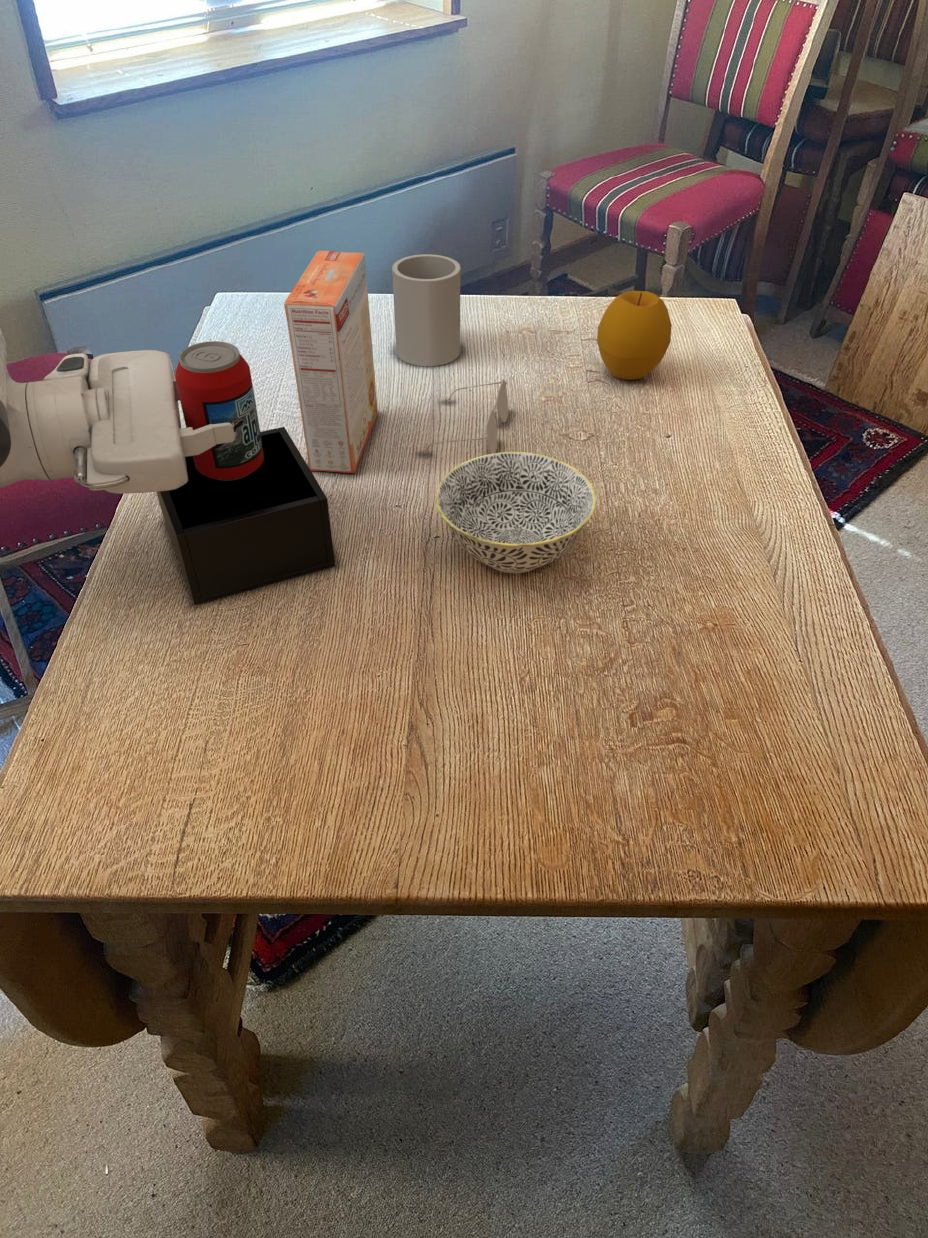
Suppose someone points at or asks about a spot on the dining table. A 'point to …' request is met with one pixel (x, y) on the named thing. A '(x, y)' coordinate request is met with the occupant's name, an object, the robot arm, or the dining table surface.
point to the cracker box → (333, 359)
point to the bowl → (515, 508)
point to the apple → (634, 334)
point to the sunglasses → (490, 418)
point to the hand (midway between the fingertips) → (228, 407)
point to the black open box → (249, 524)
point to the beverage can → (220, 407)
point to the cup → (427, 309)
